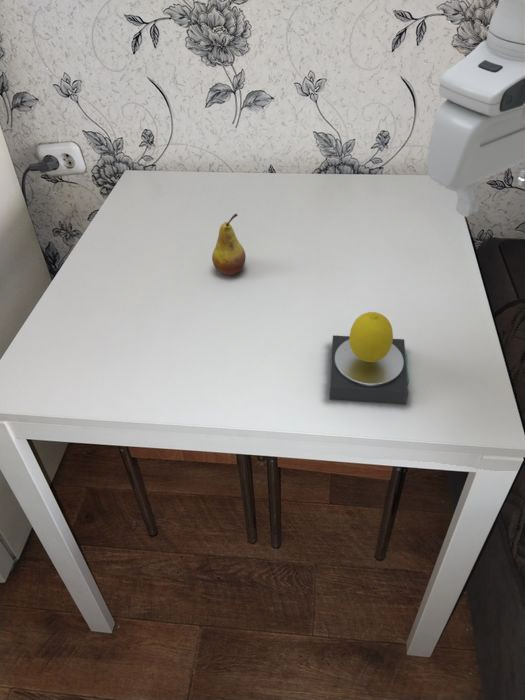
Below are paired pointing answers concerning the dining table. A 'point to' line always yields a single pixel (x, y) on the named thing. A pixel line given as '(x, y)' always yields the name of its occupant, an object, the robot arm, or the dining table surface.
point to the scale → (383, 394)
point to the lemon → (371, 337)
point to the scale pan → (368, 367)
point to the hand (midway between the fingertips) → (497, 198)
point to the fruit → (228, 251)
